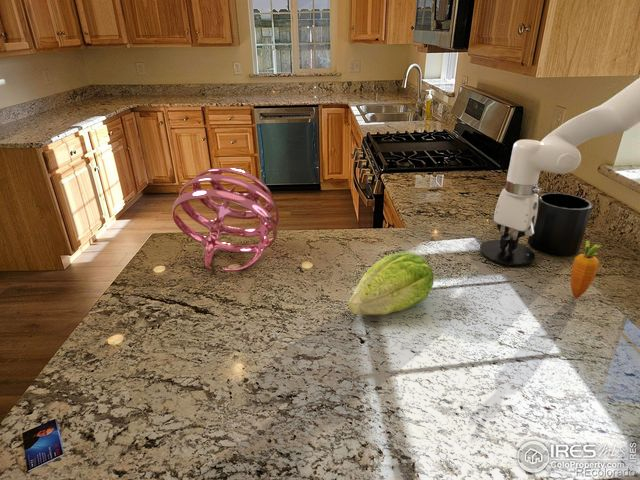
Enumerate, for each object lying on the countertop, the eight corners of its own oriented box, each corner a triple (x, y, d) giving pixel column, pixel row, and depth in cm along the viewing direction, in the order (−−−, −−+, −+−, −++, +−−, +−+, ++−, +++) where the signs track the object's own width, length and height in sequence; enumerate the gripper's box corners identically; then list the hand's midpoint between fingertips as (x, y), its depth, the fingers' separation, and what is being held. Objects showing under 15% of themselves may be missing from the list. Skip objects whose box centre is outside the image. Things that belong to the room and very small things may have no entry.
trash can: (586, 247, 126) (599, 201, 120) (566, 261, 118) (580, 213, 112) (540, 232, 136) (550, 189, 129) (519, 245, 128) (529, 199, 121)
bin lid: (544, 256, 121) (548, 237, 118) (518, 273, 112) (522, 253, 110) (495, 239, 131) (499, 221, 129) (468, 253, 123) (472, 234, 120)
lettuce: (326, 283, 98) (355, 278, 86) (396, 248, 108) (431, 240, 96) (348, 334, 98) (380, 337, 86) (416, 295, 108) (454, 292, 96)
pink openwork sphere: (229, 231, 91) (255, 137, 105) (132, 242, 102) (167, 155, 116) (286, 285, 113) (302, 202, 126) (201, 289, 124) (224, 212, 137)
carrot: (564, 290, 105) (580, 235, 99) (587, 296, 103) (605, 240, 96) (563, 300, 101) (579, 244, 95) (587, 306, 99) (605, 249, 93)
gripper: (557, 191, 110) (541, 254, 118) (500, 177, 121) (489, 236, 129) (543, 198, 105) (528, 263, 113) (485, 183, 116) (475, 243, 124)
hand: (507, 248), depth 121 cm, fingers closed on bin lid
